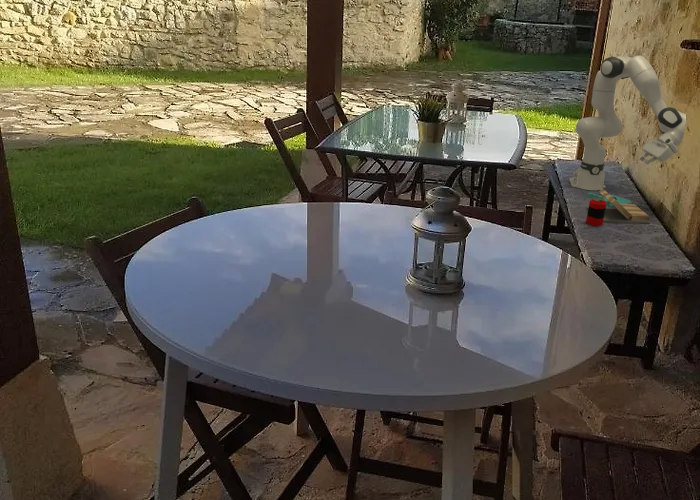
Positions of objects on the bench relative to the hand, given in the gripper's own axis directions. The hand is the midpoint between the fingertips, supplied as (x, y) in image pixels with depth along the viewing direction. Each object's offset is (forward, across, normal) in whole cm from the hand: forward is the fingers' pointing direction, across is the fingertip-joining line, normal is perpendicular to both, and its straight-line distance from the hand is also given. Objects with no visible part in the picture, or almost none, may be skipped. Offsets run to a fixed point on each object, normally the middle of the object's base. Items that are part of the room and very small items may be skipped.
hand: (643, 161), depth 330 cm
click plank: (+24, +9, +4) cm, 26 cm away
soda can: (+37, +21, -1) cm, 43 cm away
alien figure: (+24, -12, +13) cm, 30 cm away
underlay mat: (+26, +9, +10) cm, 29 cm away
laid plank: (+21, +9, +15) cm, 27 cm away
